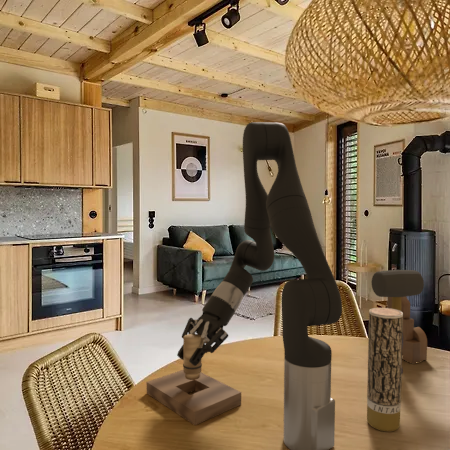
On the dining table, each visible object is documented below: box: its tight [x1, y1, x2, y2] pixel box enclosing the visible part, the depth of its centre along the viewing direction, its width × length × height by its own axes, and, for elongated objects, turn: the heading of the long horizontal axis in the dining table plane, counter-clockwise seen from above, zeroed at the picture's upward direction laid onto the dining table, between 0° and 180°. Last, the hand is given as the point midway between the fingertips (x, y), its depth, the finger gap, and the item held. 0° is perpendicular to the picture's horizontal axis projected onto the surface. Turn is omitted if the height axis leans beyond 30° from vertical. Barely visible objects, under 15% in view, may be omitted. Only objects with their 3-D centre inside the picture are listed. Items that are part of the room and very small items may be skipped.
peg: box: [182, 333, 203, 380], centre depth 101 cm, size 5×5×10 cm
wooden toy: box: [386, 296, 428, 364], centre depth 131 cm, size 16×7×25 cm, turn 25°
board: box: [146, 369, 242, 426], centre depth 102 cm, size 20×14×3 cm
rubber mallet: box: [371, 269, 425, 376], centre depth 114 cm, size 12×8×30 cm, turn 102°
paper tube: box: [366, 307, 403, 432], centre depth 90 cm, size 7×7×25 cm
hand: (186, 360), depth 100 cm, fingers closed on peg, 4 cm apart
